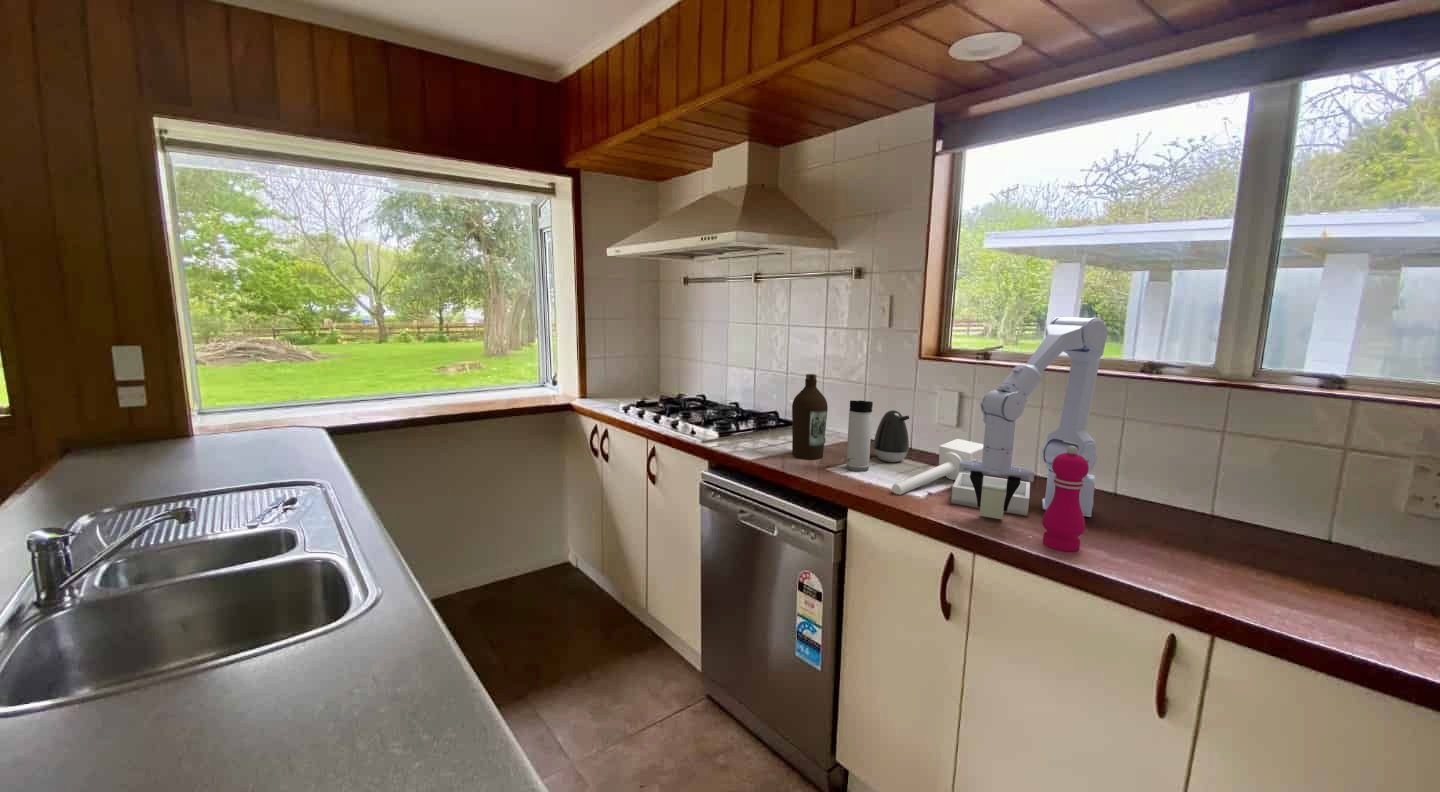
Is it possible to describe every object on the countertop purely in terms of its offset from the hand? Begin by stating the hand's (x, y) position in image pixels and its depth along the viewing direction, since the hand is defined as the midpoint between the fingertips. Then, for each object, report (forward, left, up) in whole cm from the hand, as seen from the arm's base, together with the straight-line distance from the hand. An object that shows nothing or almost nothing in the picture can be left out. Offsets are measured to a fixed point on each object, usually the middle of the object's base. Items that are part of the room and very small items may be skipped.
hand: (992, 507), depth 126 cm
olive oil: (+53, -30, -3) cm, 61 cm away
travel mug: (+36, -24, -3) cm, 43 cm away
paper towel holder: (+15, -21, -3) cm, 26 cm away
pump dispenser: (+30, -39, -3) cm, 49 cm away
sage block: (0, 0, -2) cm, 2 cm away
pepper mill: (-13, +8, -3) cm, 16 cm away
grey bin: (+1, -14, -3) cm, 14 cm away
